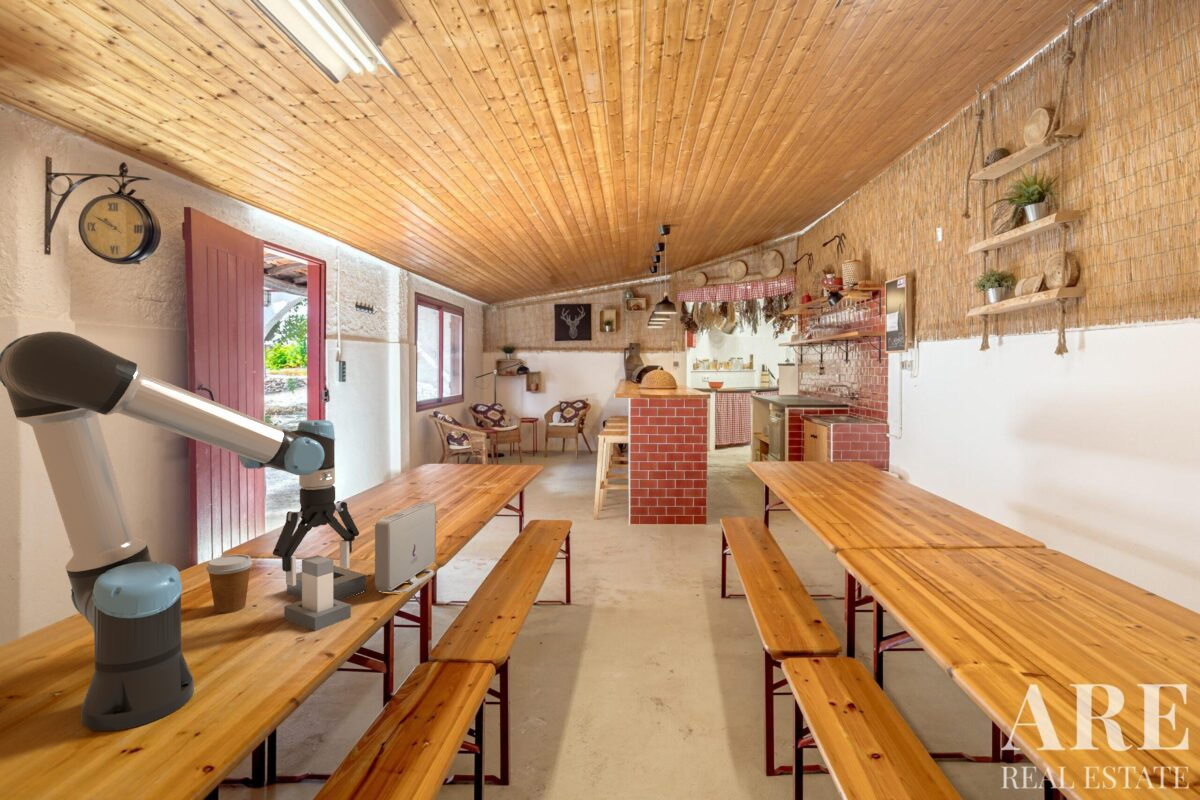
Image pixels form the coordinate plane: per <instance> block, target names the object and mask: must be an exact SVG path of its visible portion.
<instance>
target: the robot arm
mask: <svg viewBox="0 0 1200 800" xmlns="http://www.w3.org/2000/svg"><path fill="white" fill-rule="evenodd" d="M0 383H2V386H4V387H5V389H6V390H7V394H8V397H9V400H10V403H11V406H12V409H13V412H14V415H15V418H16V420H18V421H20V422H23V423H25V424H27V425H29V426H30V427H32V430H33V433H34V436H35V440H36V442H37V445H38V449H39V452H40V455H41V458H42V461H43V465H44V466H45V467H44V468H45V471H46V473H47V477H48V479H49V482H50V485H51V489H52V491H53V495H54V498H55V502H56V503H57V504H56V505H57V508H58V510H59V513H60V516H61V520H62V523H63V526H64V529H65V532H66V535H67V539H68V541H69V545H70V547H71V550H72V554H73V555H72V557H71V558H70V559H69V560H68V562H67V563H66V565H65V570H66V573H67V576H68V579H69V582H70V585H71V590H70V591H71V596H70V597H71V602H72V603H73V606H74V608H75V609H76V610H77V612H78V613H79V614H80V615H82V616H83V618H85V619H86V621H87V622H88V624H89V625H90V627H92V629H93V642H94V643H93V645H94V646H93V647H94V673H93V676H92V677H91V681H90V683H89V685H88V689H87V691H86V694H85V696H84V700H83V702H82V704H81V709H80V712H81V714H80V716H81V719H80V721H81V725H82V726H83V727H84V728H86V729H88V730H91V731H96V732H98V731H101V732H107V731H108V732H109V731H112V732H113V731H119V730H126V729H130V728H134V727H137V726H139V727H140V726H142V725H145V724H149V723H151V722H154V721H156V720H159V719H161V718H164V717H167V716H168V715H170V714H172V713H174V712H175V711H177V710H178V709H180V708H182V707H183V706H185V704H187V703H188V702H189V701H190V699H191V700H192V697H193V695H194V694H195V693H194V692H195V684H194V683H195V682H194V676H193V674H192V672H191V670H190V668H189V666H188V663H187V661H186V659H185V656H184V655H183V651H182V591H183V583H182V581H181V575H180V571H179V570H178V569H177V567H176V566H174V565H172V564H169V563H167V562H157V561H153V560H152V556H151V554H150V550H149V548H148V547H149V546H148V544H147V541H146V540H144V539H141V538H139V537H138V538H137V537H135V536H134V533H133V530H132V526H131V524H130V520H129V517H128V516H129V515H128V513H127V510H126V506H125V503H124V499H123V497H122V493H121V490H120V487H119V483H118V479H117V476H116V473H115V470H114V465H113V462H112V460H111V456H110V452H109V450H108V446H107V443H106V439H105V435H104V432H103V429H102V426H101V423H100V419H99V416H98V414H101V415H104V416H110V415H112V414H120V415H123V416H126V417H128V418H132V419H135V420H137V421H140V422H143V423H146V424H149V425H152V426H155V427H158V428H160V429H163V430H166V431H169V432H171V433H175V434H178V435H181V436H184V437H187V438H190V439H192V440H195V441H198V442H201V443H203V444H207V445H210V446H213V447H215V448H218V449H221V450H224V451H226V452H230V453H233V454H235V455H238V458H239V461H240V464H241V466H242V467H243V468H245V469H248V470H249V469H251V470H253V469H258V470H259V469H263V468H271V469H274V470H279V471H283V472H286V473H290V474H292V475H295V476H298V477H299V478H298V481H299V482H298V483H299V484H298V485H299V486H300V487H301V488H300V489H299V504H300V509H299V511H287V513H286V517H285V523H284V526H283V528H282V530H281V532H280V534H279V536H278V537H279V538H278V539H277V541H276V543H275V547H274V548H273V551H272V555H273V556H276V557H278V558H281V563H282V564H281V565H282V567H281V568H282V569H281V570H282V571H283V572H285V584H286V585H287V584H288V585H291V586H295V585H296V574H297V564H296V561H297V558H296V556H295V555H294V553H295V552H296V550H297V548H298V547H299V546H300V544H301V543H302V541H303V540H304V538H305V537H306V536H307V534H308V533H309V532H310V531H311V530H312V528H318V527H320V526H327V525H328V526H330V527H331V528H332V529H333V531H335V533H337V534H338V535H339V536H340V537H341V538H342V539H341V540H339V567H341V568H344V569H350V567H351V566H350V561H351V560H350V554H351V553H352V549H353V548H352V545H353V543H352V542H354V541H355V539H356V537H358V536H359V535H360V531H359V530H358V528H357V525H356V524H355V522H354V520H353V517H352V516H351V514H350V513H349V510H348V503H347V502H346V501H341V500H338V501H336V487H335V486H334V484H336V483H335V482H336V469H335V466H336V465H335V463H336V462H335V461H336V460H335V458H336V457H335V446H336V445H335V441H336V438H335V428H334V423H333V422H332V421H330V420H325V419H313V420H312V419H311V420H303V421H302V420H301V421H300V422H299V423H298V425H297V429H296V430H290V431H288V430H285V429H282V427H281V428H280V427H279V426H277V425H274V424H271V423H269V422H266V421H264V420H262V419H259V418H257V417H253V416H251V415H248V414H247V413H243V412H241V411H239V410H237V409H234V408H231V407H229V406H226V405H224V404H221V403H219V402H216V401H214V400H211V399H209V398H207V397H205V396H202V395H200V394H197V393H194V392H192V391H189V390H187V389H184V388H182V387H179V386H177V385H174V384H172V383H169V382H166V381H164V380H163V379H159V378H157V377H154V376H152V375H149V374H147V373H145V372H143V371H142V370H141V368H140V365H139V363H137V362H133V361H132V360H129V359H127V358H125V357H123V356H120V355H117V354H115V353H113V352H112V351H109V350H107V349H105V348H103V347H101V346H99V345H97V344H96V343H94V342H92V341H90V340H88V339H86V338H84V337H82V336H80V335H77V334H72V333H70V332H63V331H43V332H38V333H37V332H36V333H33V334H26V335H24V336H23V335H22V336H21V337H19V338H16V339H14V340H13V341H12V342H10V343H8V344H7V345H6V346H5V347H4V349H3V350H2V351H1V352H0ZM335 501H336V503H335ZM335 511H336V512H337V514H338V515H339V517H340V519H341V522H342V523H343V525H342V523H340V522H339V521H338V518H336V516H334V514H335ZM300 519H301V520H300ZM298 522H299V523H298ZM296 527H297V528H296Z"/></svg>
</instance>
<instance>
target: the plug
mask: <svg viewBox="0 0 1200 800" xmlns="http://www.w3.org/2000/svg"><path fill="white" fill-rule="evenodd" d="M333 565H334V559H332V558H330V557H329V558H328V557H325V556H322V555H319V554H318V555H313V556H311V557H307V558H302V559H301V572H302V598H301V601H302V608H304V609H307V610H310V611H312V612H315V613H318V612H321V611H323V610H326V609H329V608H332V607H333Z"/></svg>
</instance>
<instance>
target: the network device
mask: <svg viewBox="0 0 1200 800" xmlns="http://www.w3.org/2000/svg"><path fill="white" fill-rule="evenodd" d="M436 504H437V503H435V502H427V501H425V502H423V501H422V502H418V503H416V504H414V505H412V506H410V507H407V508H405V509H402V510H399V511H398V512H394V513H393V514H390V515H387V516H385V517H382V518H380V519H378V520H377V521H376V523H375V526H374V587H375V590H378V591H381V592H394V593H400V592H403V593H404V594H407V593H409V592H410V591H412V590H413V589H414V588H416V587H418V586H419V585H421V584H423V582H425V581H427V580H428V579H429V578H430V577H432V576H434V574H435V571H434V570H433V569H430V568H428V567H430V566H432V565H433V564H434V563H435V561H436V557H437V555H436V554H437V550H436V549H437V547H436V545H437V537H436V535H437V505H436ZM421 571H424V572H423V573H425V572H426V573H427V574H425V575H424V576H423V577H419V578H417V576H416V575H417V574H419V573H422V572H421ZM403 582H408V583H412V584H410V585H409V586H408V587H405V588H404V589H401V590H395V589H396V588H397V587H399V586H400V585H402V584H404V583H403ZM393 590H394V591H393ZM378 591H377V592H378Z"/></svg>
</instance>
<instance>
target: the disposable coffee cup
mask: <svg viewBox="0 0 1200 800" xmlns="http://www.w3.org/2000/svg"><path fill="white" fill-rule="evenodd" d="M252 565H253V560H252V557H251V555H248V554H242V553H241V554H239V553H237V554H229V555H221V556H219V557H216V558H215V557H214V558H213V559H211V560H209V561H208V565H207V566H206V567H205V568H206V571H207V573H208V575H209V582H210V587H211V588H210V589H211V595H212V602H213V607H214V612H215V613H217V614H218V613H219V614H227V613H228V614H229V612H230V613H235V612H238V611H240V610H242V609H244V608H246V602H247V597H248V596H247V595H248V589H249V588H248V586H249V580H250V573H251V567H252ZM234 611H235V612H234Z"/></svg>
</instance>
